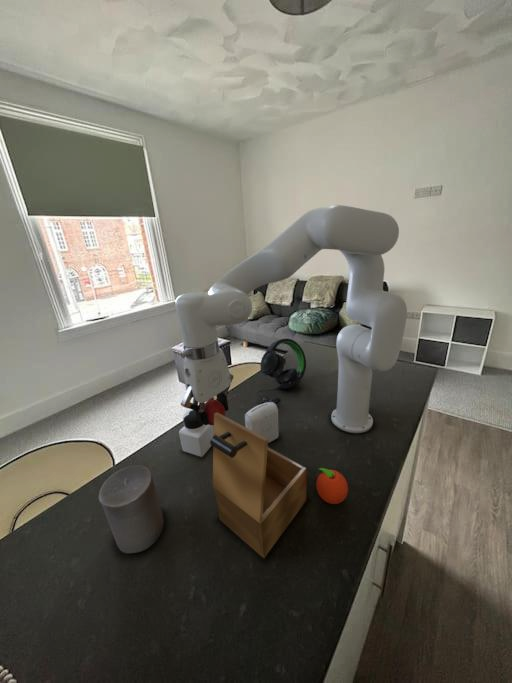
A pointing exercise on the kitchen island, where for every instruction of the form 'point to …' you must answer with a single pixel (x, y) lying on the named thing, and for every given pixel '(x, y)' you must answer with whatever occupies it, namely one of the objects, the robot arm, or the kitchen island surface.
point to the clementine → (331, 486)
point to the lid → (239, 465)
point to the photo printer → (263, 420)
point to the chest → (268, 504)
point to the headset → (274, 368)
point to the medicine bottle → (195, 435)
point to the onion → (213, 409)
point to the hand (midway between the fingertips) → (213, 415)
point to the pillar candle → (132, 508)
